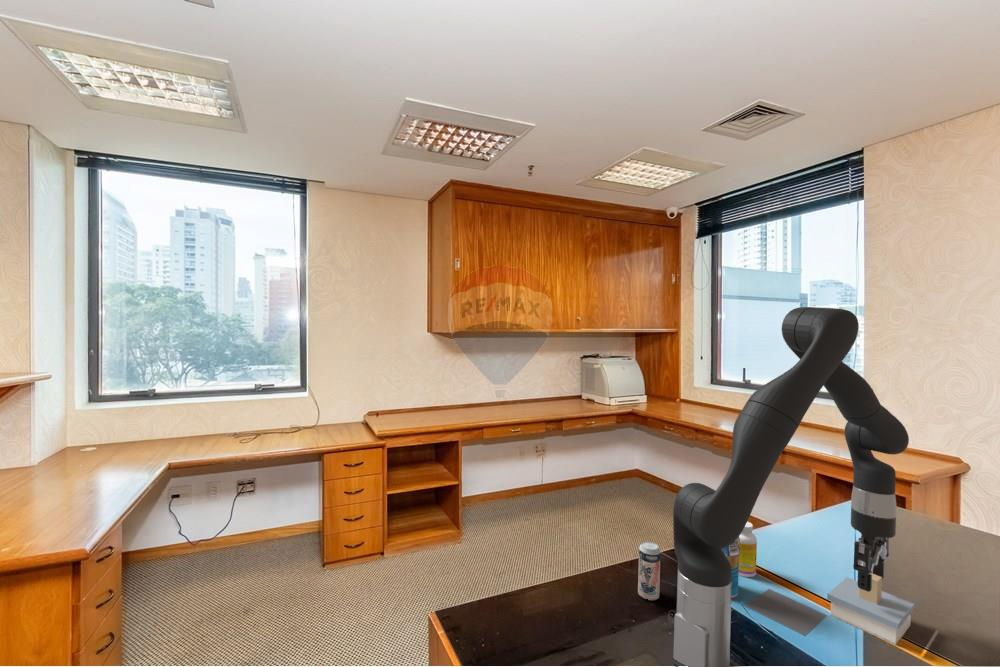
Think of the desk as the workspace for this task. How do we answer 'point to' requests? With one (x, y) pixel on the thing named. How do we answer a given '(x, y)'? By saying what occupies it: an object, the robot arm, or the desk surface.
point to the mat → (786, 611)
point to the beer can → (649, 571)
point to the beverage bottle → (733, 564)
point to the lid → (872, 602)
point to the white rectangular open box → (869, 623)
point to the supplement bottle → (747, 552)
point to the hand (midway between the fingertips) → (870, 583)
